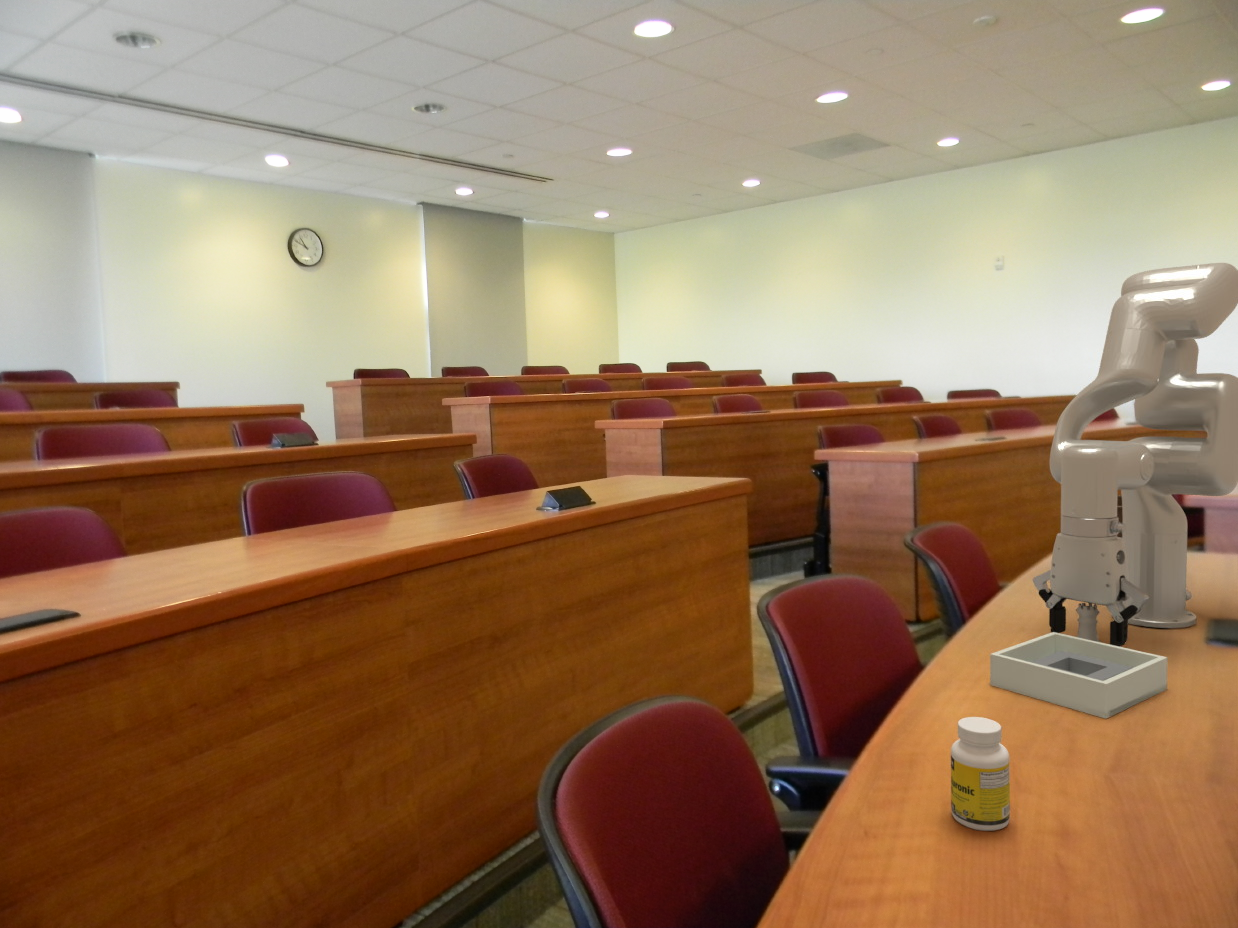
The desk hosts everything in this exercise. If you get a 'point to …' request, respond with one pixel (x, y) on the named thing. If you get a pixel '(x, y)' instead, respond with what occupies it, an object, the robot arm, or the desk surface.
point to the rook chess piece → (1087, 621)
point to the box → (1079, 673)
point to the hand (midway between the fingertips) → (1087, 638)
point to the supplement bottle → (980, 775)
